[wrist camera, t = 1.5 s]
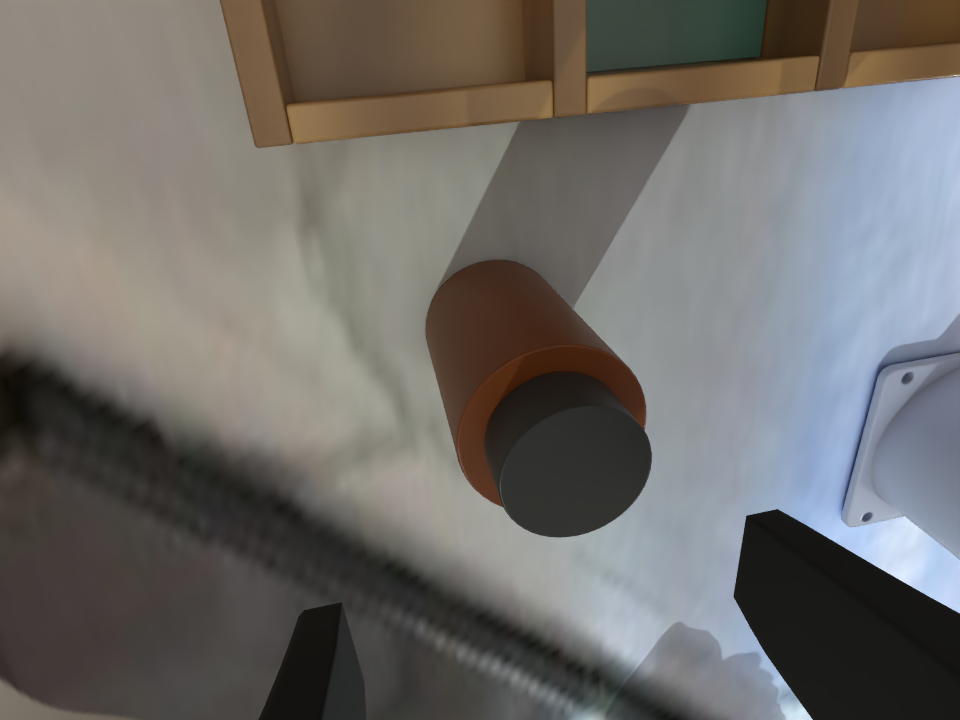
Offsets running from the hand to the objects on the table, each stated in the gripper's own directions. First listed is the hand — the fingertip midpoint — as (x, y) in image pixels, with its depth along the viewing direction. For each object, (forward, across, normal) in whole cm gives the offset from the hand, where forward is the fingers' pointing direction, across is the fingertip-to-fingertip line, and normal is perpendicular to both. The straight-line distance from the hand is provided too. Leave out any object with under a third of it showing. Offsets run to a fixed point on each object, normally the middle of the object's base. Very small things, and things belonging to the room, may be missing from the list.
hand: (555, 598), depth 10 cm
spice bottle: (+10, -1, -1) cm, 10 cm away
